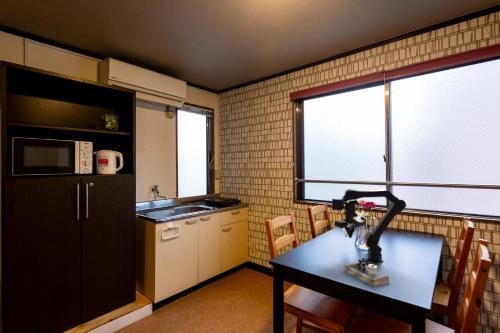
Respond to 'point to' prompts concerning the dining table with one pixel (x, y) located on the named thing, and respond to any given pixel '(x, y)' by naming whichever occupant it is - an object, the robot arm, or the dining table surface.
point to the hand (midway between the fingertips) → (350, 237)
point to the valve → (368, 268)
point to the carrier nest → (365, 276)
